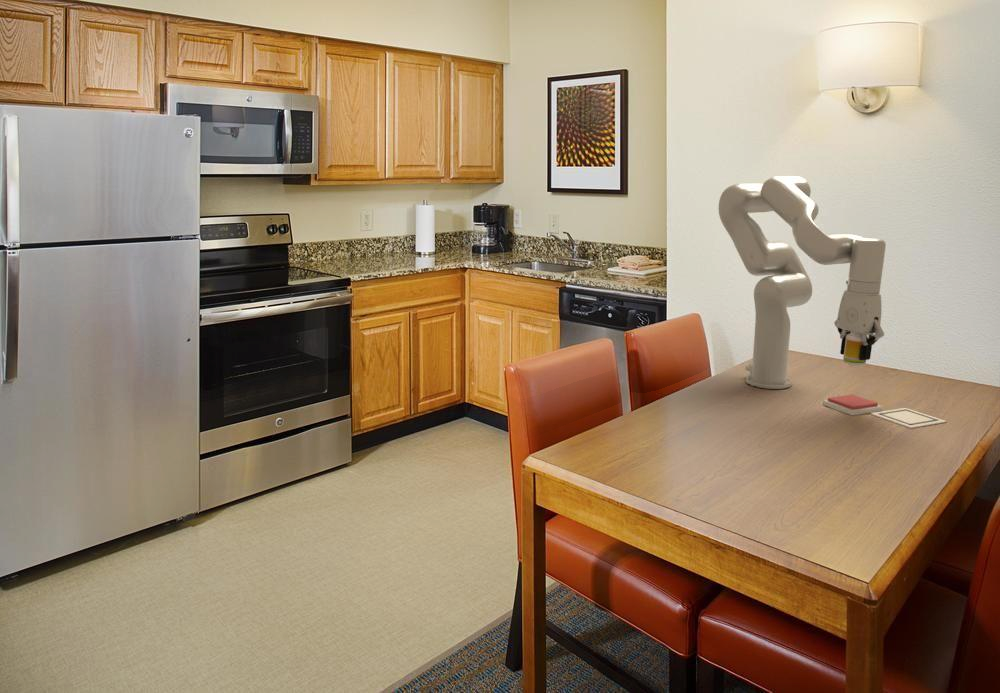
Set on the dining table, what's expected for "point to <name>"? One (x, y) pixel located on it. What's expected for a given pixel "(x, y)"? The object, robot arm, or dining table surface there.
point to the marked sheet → (908, 418)
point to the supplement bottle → (853, 349)
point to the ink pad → (852, 405)
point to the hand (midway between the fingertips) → (855, 356)
